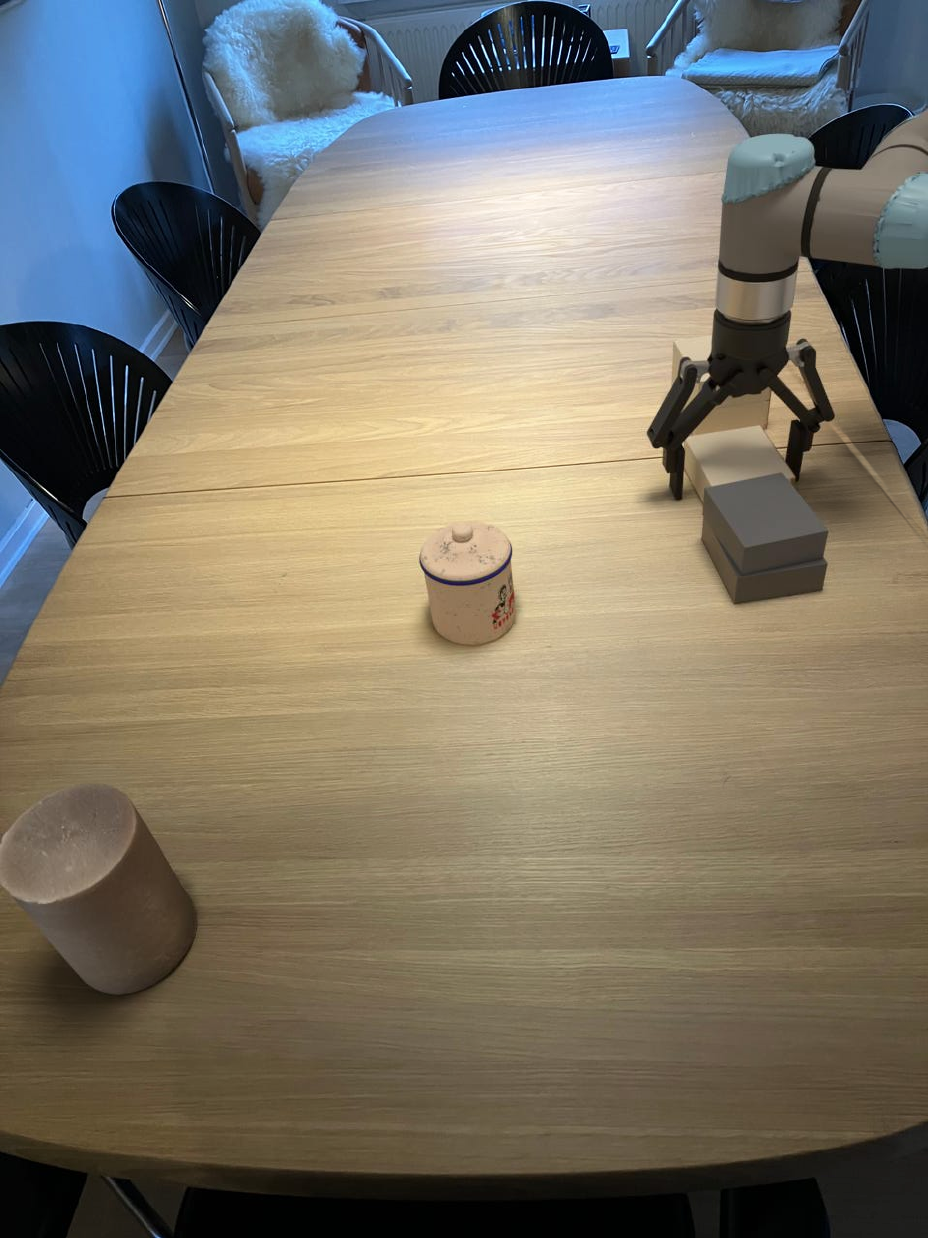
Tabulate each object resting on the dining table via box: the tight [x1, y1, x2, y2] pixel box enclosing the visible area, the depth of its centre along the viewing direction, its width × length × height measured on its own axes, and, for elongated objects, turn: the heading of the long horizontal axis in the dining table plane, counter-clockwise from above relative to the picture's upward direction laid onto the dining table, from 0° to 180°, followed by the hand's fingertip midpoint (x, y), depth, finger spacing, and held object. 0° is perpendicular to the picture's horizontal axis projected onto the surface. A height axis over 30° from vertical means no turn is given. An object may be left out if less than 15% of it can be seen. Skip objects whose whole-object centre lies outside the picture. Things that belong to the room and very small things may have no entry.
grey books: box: [700, 472, 829, 605], centre depth 94 cm, size 9×11×7 cm
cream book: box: [683, 425, 796, 504], centre depth 105 cm, size 9×11×4 cm
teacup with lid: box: [418, 521, 517, 646], centre depth 92 cm, size 12×9×12 cm
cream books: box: [670, 334, 773, 436], centre depth 116 cm, size 9×11×8 cm
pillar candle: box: [0, 782, 198, 996], centre depth 67 cm, size 10×10×15 cm
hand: (733, 483), depth 107 cm, fingers open, 13 cm apart
